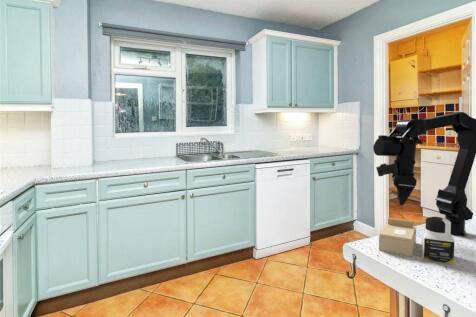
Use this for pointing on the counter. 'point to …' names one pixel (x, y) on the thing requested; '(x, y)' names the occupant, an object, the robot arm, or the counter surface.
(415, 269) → the counter surface
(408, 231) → the lid
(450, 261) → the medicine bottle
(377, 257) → the counter surface
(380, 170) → the robot arm
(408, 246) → the mailer box
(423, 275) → the counter surface
